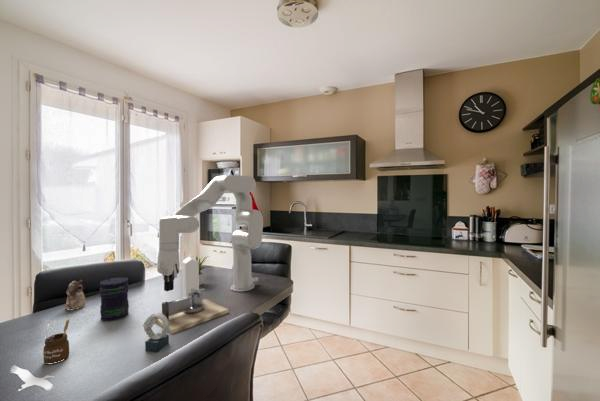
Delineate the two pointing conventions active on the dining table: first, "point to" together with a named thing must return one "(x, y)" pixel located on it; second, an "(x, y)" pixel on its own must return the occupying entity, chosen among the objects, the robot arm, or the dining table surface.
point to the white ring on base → (157, 339)
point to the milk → (190, 275)
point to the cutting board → (194, 317)
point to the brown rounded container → (56, 346)
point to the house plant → (201, 269)
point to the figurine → (75, 296)
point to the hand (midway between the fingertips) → (168, 290)
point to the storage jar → (114, 298)
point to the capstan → (184, 304)
